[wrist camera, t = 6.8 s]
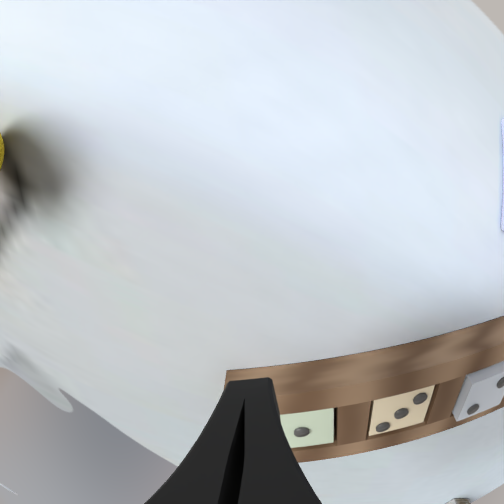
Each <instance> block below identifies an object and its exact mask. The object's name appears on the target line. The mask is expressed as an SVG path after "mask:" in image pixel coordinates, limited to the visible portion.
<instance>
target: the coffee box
mask: <svg viewBox="0 0 504 504" xmlns="http://www.w3.org/2000/svg"><path fill="white" fill-rule="evenodd" d="M446 504H471V503H470V500H469V499H452V500H451V501H449V502H447V503H446Z"/></svg>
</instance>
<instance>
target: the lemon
mask: <svg viewBox="0 0 504 504" xmlns="http://www.w3.org/2000/svg"><path fill="white" fill-rule="evenodd" d="M3 159H4V143H3V139H2V136H1V133H0V169H1V167H2V163H3Z"/></svg>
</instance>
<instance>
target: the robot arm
mask: <svg viewBox="0 0 504 504" xmlns="http://www.w3.org/2000/svg"><path fill="white" fill-rule="evenodd" d="M502 139H503V203H502V218H501V229H502V231H504V118H503V119H502ZM144 504H322V503H321V502H320V500H319V499H318V497H317V496H316V494H315V492H314V491H313V489H312V487H311V486H310V484H309V482H308V481H307V479H306V477H305V475H304V473H303V472H302V470H301V468H300V466H299V464H298V462H297V460H296V458H295V456H294V454H293V452H292V450H291V447H290V445H289V443H288V440H287V438H286V436H285V433H284V430H283V428H282V425H281V419H280V412H279V407H278V403H277V398H276V394H275V389H274V385H273V380H272V379H271V378H269V377H265V378H256V379H246V380H234V381H229V382H228V383H227V384H226V387H225V389H224V391H223V393H222V396H221V398H220V400H219V402H218V404H217V406H216V408H215V410H214V411H213V413H212V415H211V417H210V419H209V421H208V422H207V424H206V426H205V428H204V429H203V431H202V433H201V434H200V436H199V438H198V439H197V441H196V442H195V444H194V445H193V447H192V448H191V450H190V451H189V453H188V454H187V455H186V457H185V458H184V460H183V461H182V462H181V464H180V465H179V466H178V468H177V469H176V470H175V472H174V473H173V474H172V475H171V476H170V477H169V479H168V480H167V481H166V482H165V483H164V484H163V485H162V486H161V487H160V489H158V491H157V492H156V493H155V494H154V495H153V496H152V497H151V498H150V499H149V500H148V501H147V502H145V503H144Z"/></svg>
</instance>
